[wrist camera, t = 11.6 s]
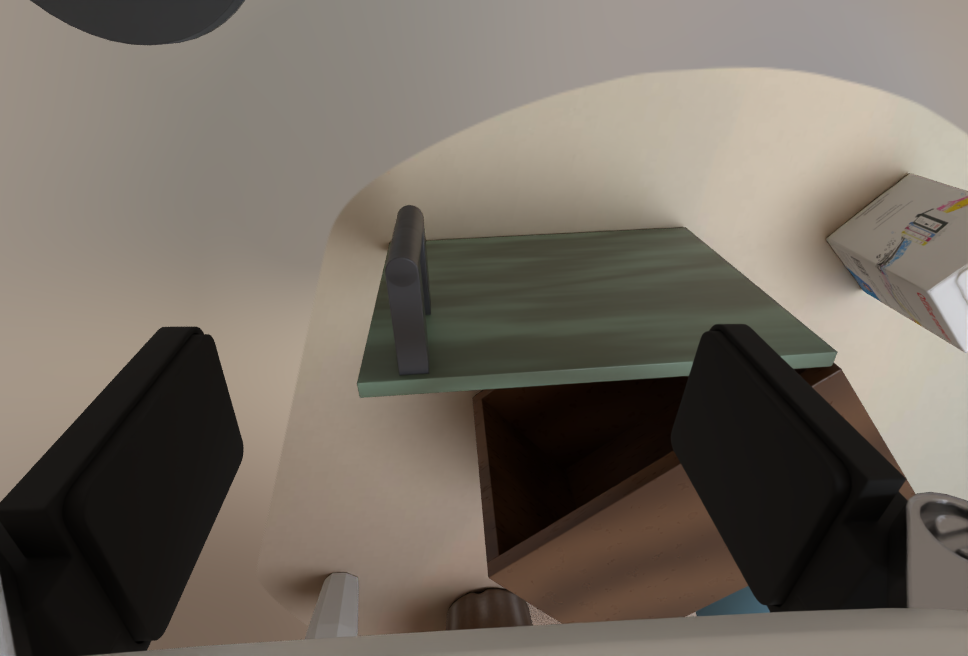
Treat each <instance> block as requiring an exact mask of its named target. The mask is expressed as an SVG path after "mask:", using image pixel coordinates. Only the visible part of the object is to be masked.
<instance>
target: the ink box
mask: <svg viewBox="0 0 968 656" xmlns="http://www.w3.org/2000/svg"><path fill="white" fill-rule="evenodd" d="M826 240H827V241H828V243H829V244H830V246H831V247H832V248H833V250H834V251H835V253H836V254H837V255H838V257H839V258H840V259H841V261H842V262H843V263H844V265H845V266H846V267H847V269H848V270H849V271H850V273H851V274H852V275H853V277H854V278H855V279H856V280H857V282H858V283H859V285H860V286H861V288H862V289H863V291H864V292H866V293H867V294H869V295H871V296H872V297H874V298H876V299H877V300H879V301H881V302H882V303H884V304H885V305H887V306H889V307H890V308H892V309H894V310H895V311H897V312H899V313H900V314H902V315H904V316H905V317H907V318H909V319H910V320H912V321H914V322H915V323H917V324H919V325H920V326H922V327H924V328H925V329H927V330H929V331H930V332H932V333H934V334H935V335H937V336H939V337H940V338H942V339H944V340H945V341H947V342H949V343H950V344H952V345H953V346H955V347H957V348H958V349H960V350H961V351H963V352H965V353H967V352H968V191H965V190H962V189H959V188H956V187H953V186H949V185H946V184H943V183H940V182H937V181H934V180H931V179H927V178H924V177H921V176H918V175H914V174H909V175H907V176H906V177H905V178H903V179H902V180H901V181H899V182H898V183H897V184H896V185H894V186H893V187H892V188H890V189H889V190H887V191H886V192H885V193H883V194H882V195H881V196H879V197H878V198H877V199H876V200H874V201H873V202H872V203H870V204H869V205H868V206H867V207H865V208H864V209H863V210H862V211H860V212H859V213H858V214H856V215H855V216H854V217H853V218H851V219H850V220H849V221H848V222H846V223H845V224H844V225H842V226H841V227H840V228H839V229H837V230H836V231H835V232H834V233H832V234H831V235H830V236H829V237H827V239H826Z"/></svg>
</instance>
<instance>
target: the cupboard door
mask: <svg viewBox="0 0 968 656" xmlns="http://www.w3.org/2000/svg"><path fill="white" fill-rule="evenodd" d="M715 324H746V325H748V326H749V327H751V328H752V329H753V330H754V331H755V332H756V333H757V334H758V335H759V336H760V337H761V338H762V339H763V340H764V341H765V342H766V343H767V344H768V345H769V346H770V347H771V348H772V349H773V350H774V351H775V352H776V353H777V354H778V355H780V356H781V357H782V358H783V359H784V360H785V361H786V362H787V363H788V364H789V365H790V366H791V367H792V368H793V369H799V368H814V367H829V366H832V365H833V362H834V360H835V357H836V355H837V351H836V350H835V349H833V348H832V347H831V346H830V345H828V344H827V343H826V342H825V341H824V340H822V339H821V338H820V337H819V336H817V335H816V334H815V333H814V332H813V331H811V330H810V329H809V328H808V327H806V326H805V325H804V324H803V323H802V322H800V321H799V320H798V319H797V318H796V317H794V316H793V315H792V314H791V313H789V312H788V311H787V310H786V309H785V308H783V307H782V306H781V305H780V304H778V303H777V302H776V301H775V300H774V299H772V298H771V297H770V296H769V295H767V294H766V293H765V292H764V291H763V290H761V289H760V288H759V287H758V286H757V285H755V284H754V283H753V282H752V281H750V280H749V279H748V278H747V277H746V276H744V275H743V274H742V273H741V272H739V271H738V270H737V269H736V268H735V267H733V266H732V265H731V264H730V263H728V262H727V261H726V260H725V259H724V258H722V257H721V256H720V255H719V254H718V253H716V252H715V251H714V250H713V249H711V248H710V247H709V246H708V245H707V244H705V243H704V242H703V241H702V240H700V239H699V238H698V237H697V236H696V235H694V234H693V233H692V232H691V231H689V230H688V229H687V228H686V227H685V228H665V229H646V230H626V231H607V232H587V233H567V234H548V235H528V236H509V237H489V238H469V239H450V240H430V241H426V239H425V228H424V217H423V214H422V212H421V210H420V209H419V208H417V207H415V206H412V205H407V206H404V207H402V208H401V209H400V210H399V212H398V214H397V219H396V223H395V228H394V232H393V237H392V241H391V243H389V248H388V252H387V256H386V261H385V265H384V269H383V274H382V278H381V282H380V286H379V291H378V295H377V299H376V304H375V308H374V312H373V317H372V321H371V325H370V330H369V334H368V338H367V343H366V347H365V351H364V356H363V360H362V364H361V368H360V373H359V377H358V381H357V386H358V391H359V396H360V398H364V397H379V396H394V395H409V394H424V393H439V392H454V391H469V390H484V389H499V388H514V387H529V386H544V385H559V384H574V383H589V382H604V381H619V380H634V379H649V378H664V377H679V376H689V374H690V371H691V367H692V364H693V361H694V358H695V355H696V351H697V348H698V345H699V342H700V339H701V336H702V334H703V333H704V332H706V331H709V330H710V329H711V327H712V326H713V325H715Z"/></svg>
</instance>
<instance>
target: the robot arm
mask: <svg viewBox="0 0 968 656" xmlns="http://www.w3.org/2000/svg"><path fill="white" fill-rule="evenodd" d="M671 444H672V448H673V450H674V452H675V454H676V456H677V458H678V459H679V461H680V463H681V465H682V467H683V468H684V470H685V472H686V474H687V476H688V477H689V479H690V481H691V483H692V485H693V486H694V488H695V490H696V492H697V494H698V496H699V497H700V499H701V501H702V503H703V505H704V506H705V508H706V510H707V512H708V514H709V515H710V517H711V519H712V521H713V523H714V525H715V526H716V528H717V530H718V532H719V534H720V535H721V537H722V539H723V541H724V543H725V544H726V546H727V548H728V550H729V552H730V553H731V555H732V557H733V559H734V561H735V563H736V564H737V566H738V568H739V570H740V572H741V573H742V575H743V577H744V579H745V581H746V582H747V584H748V586H749V588H750V590H751V591H752V593H753V595H754V597H755V598H756V600H757V601H758V602H759V603H760V604H762V605H767V607H768V609H769V611H770V613H753V614H734V615H715V616H696V617H677V618H658V619H640V620H621V621H603V622H586V623H569V624H551V625H534V626H517V627H500V628H483V629H466V630H450V631H433V632H416V633H399V634H384V635H368V636H352V637H337V638H321V639H305V640H291V641H275V642H259V643H244V644H228V645H212V646H198V647H186V648H174V649H162V650H149V651H147V649H148V647H149V645H150V642H151V641H152V640H158V639H159V638H160V637H161V636H162V635H163V634H164V632H165V630H166V628H167V626H168V624H169V622H170V620H171V617H172V615H173V613H174V611H175V608H176V606H177V604H178V602H179V600H180V597H181V595H182V593H183V591H184V588H185V586H186V584H187V582H188V580H189V577H190V575H191V573H192V571H193V568H194V566H195V564H196V562H197V560H198V557H199V555H200V553H201V551H202V548H203V546H204V544H205V541H206V539H207V537H208V535H209V533H210V531H211V528H212V526H213V524H214V522H215V520H216V517H217V515H218V513H219V511H220V508H221V506H222V504H223V501H224V499H225V497H226V495H227V493H228V491H229V488H230V486H231V484H232V482H233V480H234V477H235V475H236V473H237V471H238V468H239V466H240V464H241V461H242V458H243V441H242V438H241V435H240V431H239V427H238V424H237V420H236V416H235V413H234V410H233V406H232V402H231V399H230V395H229V392H228V388H227V384H226V381H225V377H224V374H223V370H222V367H221V363H220V360H219V356H218V352H217V349H216V345H215V342H214V339H213V338H212V337H211V335H207V334H205V335H204V333H203V331H202V330H201V329H200V328H198V327H162V328H160V329H159V330H158V331H157V332H156V333H155V334H154V335H153V336H152V338H150V340H149V341H148V342H147V343H146V344H145V345H144V346H143V347H142V348H141V349H140V351H139V352H138V353H137V354H136V355H135V356H134V357H133V358H132V359H131V360H130V362H128V364H127V365H126V366H125V367H124V368H123V369H122V370H121V371H120V372H119V374H117V376H116V377H115V378H114V379H113V380H112V381H111V382H110V383H109V384H108V385H107V386H106V388H105V389H104V390H103V391H102V392H101V393H100V394H99V395H98V396H97V397H96V399H95V400H94V401H93V402H92V403H91V404H90V405H89V406H88V407H87V408H86V409H85V411H84V412H83V413H82V414H81V415H80V416H79V417H78V418H77V419H76V420H75V421H74V423H73V424H72V425H71V426H70V427H69V428H68V429H67V430H66V431H65V432H64V433H63V435H62V436H61V437H60V438H59V439H58V440H57V441H56V442H55V443H54V444H53V445H52V447H51V448H50V449H49V450H48V451H47V452H46V453H45V454H44V455H43V456H42V458H41V459H40V460H39V461H38V462H37V463H36V464H35V465H34V466H33V467H32V468H31V470H30V471H29V472H28V473H27V474H26V475H25V476H24V477H23V478H22V479H21V480H20V481H19V483H18V484H17V485H16V486H15V487H14V488H13V489H12V490H11V491H10V492H9V493H8V495H7V496H6V497H5V498H4V499H3V500H2V501H1V502H0V656H968V501H966V500H964V499H960V498H957V497H954V496H951V495H947V494H942V493H934V492H925V493H917V494H916V495H914V496H913V497H911V498H910V499H909V500H907V499H906V498H905V497H904V496H903V495H902V494H901V493H900V492H899V490H900V488H901V487H902V485H903V484H904V482H905V481H906V478H905V477H904V476H903V475H902V474H901V473H900V472H899V471H898V470H897V469H896V468H895V467H894V466H893V465H892V464H891V463H890V462H889V461H888V460H887V459H886V458H885V457H884V456H883V455H882V454H881V453H880V452H878V451H877V450H876V449H875V448H874V447H873V446H872V445H871V444H870V443H869V442H868V441H867V440H866V439H865V438H864V437H863V436H862V435H861V434H860V433H859V432H858V431H857V430H856V429H855V428H854V427H853V426H852V425H851V424H850V423H849V422H848V421H847V420H845V419H844V418H843V417H842V416H841V415H840V414H839V413H838V412H837V411H836V410H835V409H834V408H833V407H832V406H831V405H830V404H829V403H828V402H827V401H826V400H825V399H824V398H823V397H822V396H821V395H820V394H819V393H818V392H817V391H816V390H815V389H814V388H813V387H811V386H810V385H809V384H808V383H807V382H806V381H805V380H804V379H803V378H802V377H801V376H800V375H799V374H798V373H797V372H796V371H795V370H794V369H793V368H792V367H791V366H790V365H789V364H788V363H787V362H786V361H785V360H784V359H783V358H782V357H781V356H780V355H778V354H777V353H776V352H775V351H774V350H773V349H772V348H771V347H770V346H769V345H768V344H767V343H766V342H765V341H764V340H763V339H762V338H761V337H760V336H759V335H758V334H757V333H756V332H755V331H754V330H753V329H752V328H751V327H749V326H748V325H746V324H715V325H713V326H712V327H711V329H710V330H709V331H706V332H704V333H703V334H702V336H701V339H700V342H699V345H698V348H697V351H696V355H695V358H694V361H693V364H692V367H691V371H690V374H689V377H688V380H687V383H686V387H685V390H684V393H683V396H682V399H681V403H680V406H679V409H678V412H677V416H676V419H675V422H674V425H673V428H672V432H671Z"/></svg>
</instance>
